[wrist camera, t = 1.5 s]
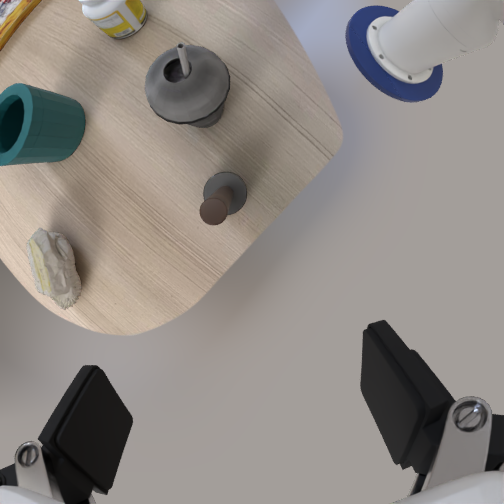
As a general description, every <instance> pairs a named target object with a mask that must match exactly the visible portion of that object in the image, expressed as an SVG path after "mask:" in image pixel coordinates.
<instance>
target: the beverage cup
mask: <svg viewBox="0 0 504 504" xmlns="http://www.w3.org/2000/svg"><path fill="white" fill-rule="evenodd" d="M176 46H177V47H175V48H172V49H170V50H167V51H166V52H164V53H163V54H162V55H160V56H159V57H158V58H157V59H156V60H155V61H154V62H153V64H152V65H151V66H150V68H149V71H148V73H147V75H146V81H145V92H146V96H147V99H148V102H149V104H150V107H151V108H152V109H153V110H154V112H155V113H156V114H157V115H158V116H159V117H161V118H162V119H164V120H166V121H167V122H172V123H176V124H189V125H192V126H195V127H199V128H207V127H210V126H213V125H214V124H216V123H217V122H218V121H219V119H220V118H221V115H222V113H223V108H224V102H225V100H226V98H227V95H228V92H229V90H230V75H229V72H228V69H227V67H226V65H225V64H224V63H223V62H222V61H221V59H220V58H219V57H218V56H217V55H216V54H215V53H213V52H212V51H210V50H208V49H206V48H204V47H200V46H194V45H185V43H183V42H181V43H178V44H177V45H176Z"/></svg>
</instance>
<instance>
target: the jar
mask: <svg viewBox="0 0 504 504" xmlns="http://www.w3.org/2000/svg"><path fill="white" fill-rule="evenodd" d="M84 130H85V114H84V111H83V108H82V106H81V105H80V104H79V103H78V102H77V101H76V100H74V99H71V98H69V97H66V96H63V95H60V94H57V93H53V92H50V91H47V90H44V89H40V88H37V87H33V86H30V85H26V84H22V83H16V84H13V85H11V86H10V87H8V88H6V89H5V90H4V91H3V92H2V93H1V94H0V166H6V165H16V164H29V163H44V162H57V161H62V160H64V159H66V158H68V157H69V156H70V155H71V154H72V153H73V152H74V151H75V150H76V148H77V147H78V145H79V144H80V142H81V139H82V137H83V134H84Z"/></svg>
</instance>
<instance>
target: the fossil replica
mask: <svg viewBox="0 0 504 504" xmlns="http://www.w3.org/2000/svg"><path fill="white" fill-rule="evenodd" d="M27 251H28V258H29V262H30V266H31V270H32V274H33V278H34V281H35V287H36V289H37V291H38V292H39V293H42V294H44V295H47V296H49V297H51V299H52V300H53V301H54V302H55V303H56V304H57V305H58V306H59V307H60V308H61V309H62V308H63V309H66V308H67V309H68V308H69V307H72V305H73V304H74V303H75V302H76V300H78V297H79V296H80V292H81V287H82V285H81V281H80V277H79V276H78V275H77V274H78V273H77V271H76V267H75V260H74V255H73V250H72V248H71V245H70V244H69V241H68V240H67V238H66V237H65V236H64V235H63V234H61V233H54V232H49V233H48V232H47V231H46V230H43V229H42V228H39V229H38V231H36V232H35V233H34V234H33V235H32V236H31V238H30V239H29V241H28V243H27Z"/></svg>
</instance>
